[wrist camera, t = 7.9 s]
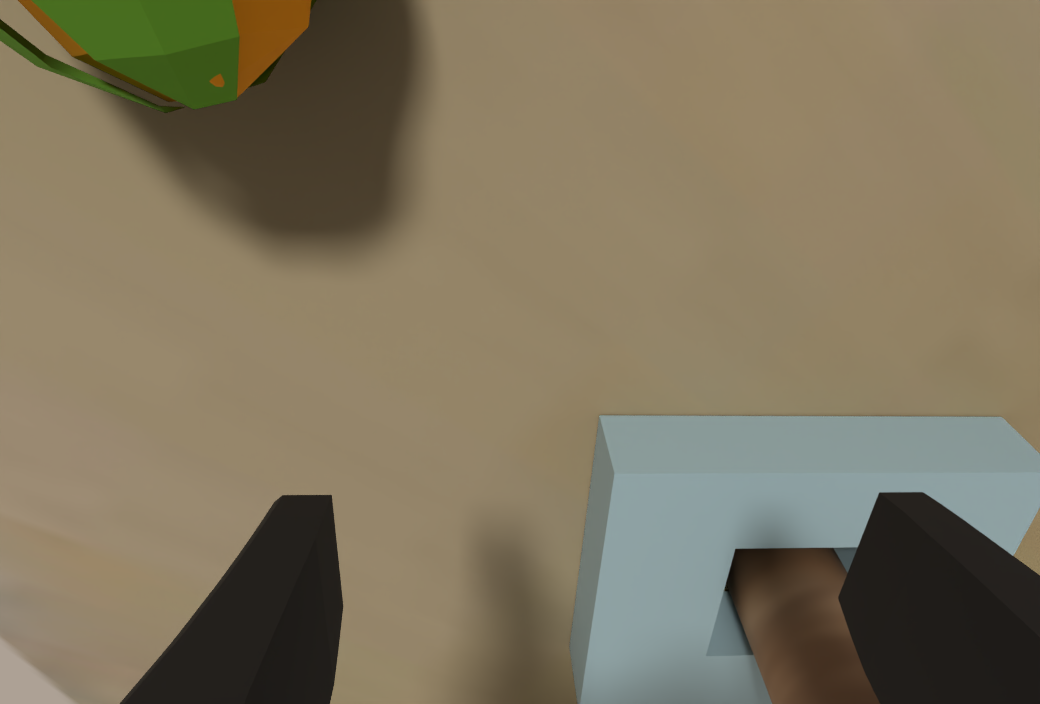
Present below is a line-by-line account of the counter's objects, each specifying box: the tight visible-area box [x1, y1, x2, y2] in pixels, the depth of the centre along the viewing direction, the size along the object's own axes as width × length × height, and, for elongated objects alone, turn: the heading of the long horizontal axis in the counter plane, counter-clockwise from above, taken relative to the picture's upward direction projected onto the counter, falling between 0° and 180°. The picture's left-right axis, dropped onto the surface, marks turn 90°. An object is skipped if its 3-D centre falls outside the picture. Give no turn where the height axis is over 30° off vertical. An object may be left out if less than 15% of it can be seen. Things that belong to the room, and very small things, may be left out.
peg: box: [726, 548, 880, 704], centre depth 21 cm, size 3×3×7 cm
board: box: [569, 415, 1040, 704], centre depth 23 cm, size 12×10×2 cm
